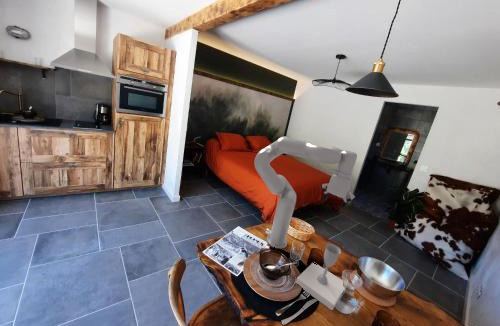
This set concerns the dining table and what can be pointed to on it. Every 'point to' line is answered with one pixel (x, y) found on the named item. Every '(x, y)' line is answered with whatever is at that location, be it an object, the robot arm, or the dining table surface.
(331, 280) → the plinth
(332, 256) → the chalice
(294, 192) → the robot arm
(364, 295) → the dining table surface
